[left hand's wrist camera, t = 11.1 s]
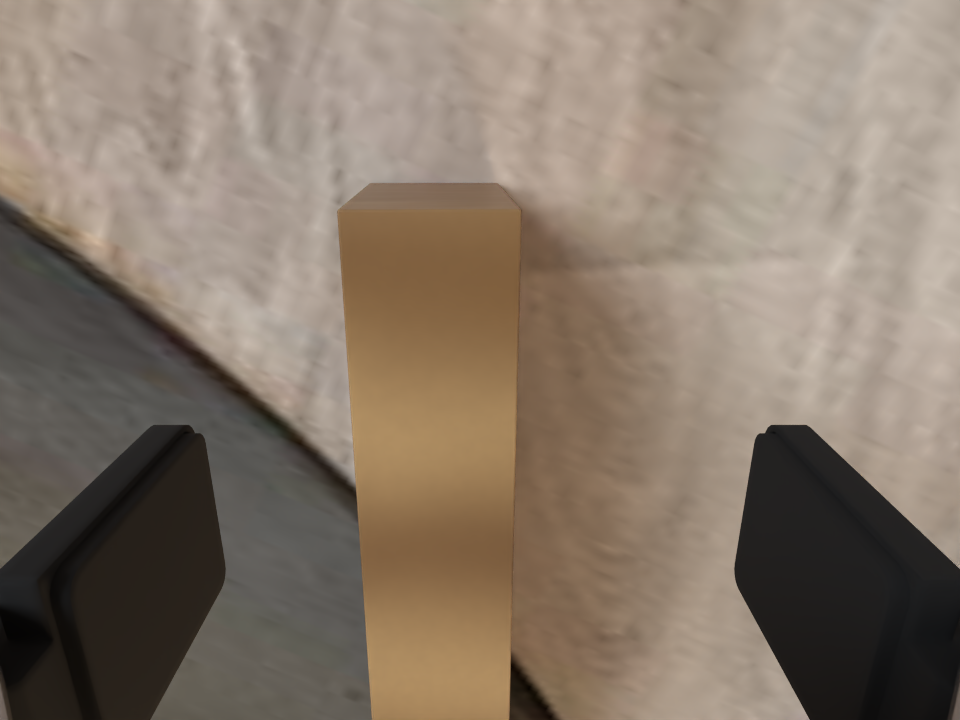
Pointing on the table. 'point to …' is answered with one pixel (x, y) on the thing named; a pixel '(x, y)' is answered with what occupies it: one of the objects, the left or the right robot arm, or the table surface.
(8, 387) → the table surface
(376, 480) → the bar
